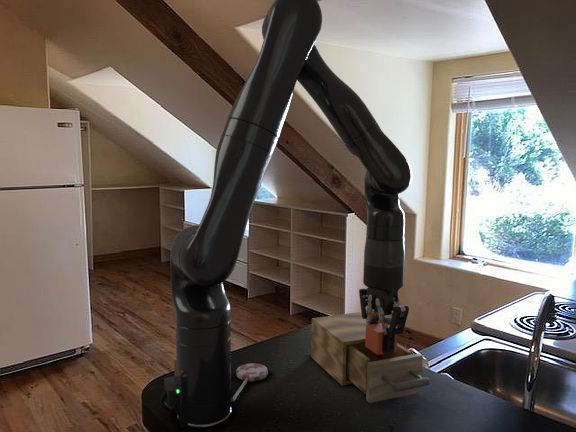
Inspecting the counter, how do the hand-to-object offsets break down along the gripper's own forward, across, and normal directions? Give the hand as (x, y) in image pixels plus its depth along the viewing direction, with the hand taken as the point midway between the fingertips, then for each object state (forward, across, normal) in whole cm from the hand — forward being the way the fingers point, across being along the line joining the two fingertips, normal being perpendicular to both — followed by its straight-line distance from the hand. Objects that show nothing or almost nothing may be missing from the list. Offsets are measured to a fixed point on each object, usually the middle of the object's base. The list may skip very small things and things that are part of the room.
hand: (380, 347), depth 93 cm
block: (0, 0, 0) cm, 0 cm away
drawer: (+8, -1, 0) cm, 8 cm away
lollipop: (+9, +11, +24) cm, 28 cm away
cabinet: (+8, +11, 0) cm, 14 cm away
